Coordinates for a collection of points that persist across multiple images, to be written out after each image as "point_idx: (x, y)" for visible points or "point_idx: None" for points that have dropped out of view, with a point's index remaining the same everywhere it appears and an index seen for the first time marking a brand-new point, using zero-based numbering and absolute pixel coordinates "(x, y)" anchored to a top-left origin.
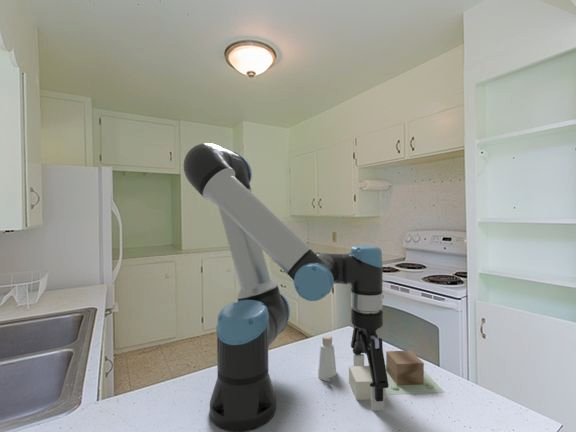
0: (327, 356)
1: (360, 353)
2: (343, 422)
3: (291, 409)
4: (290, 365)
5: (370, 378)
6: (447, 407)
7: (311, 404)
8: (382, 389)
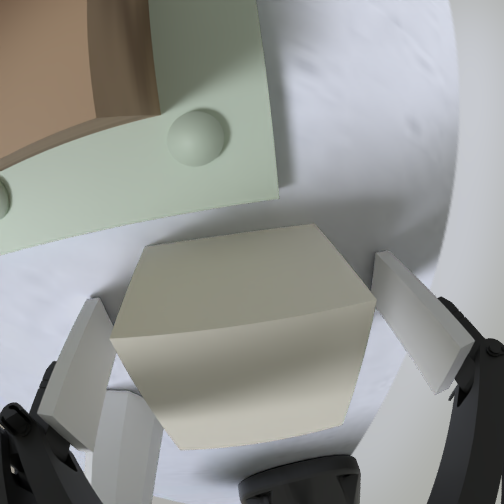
0: (149, 494)
1: (48, 430)
2: (386, 366)
3: (312, 446)
4: None
5: (324, 382)
6: None
7: None
8: (480, 338)
